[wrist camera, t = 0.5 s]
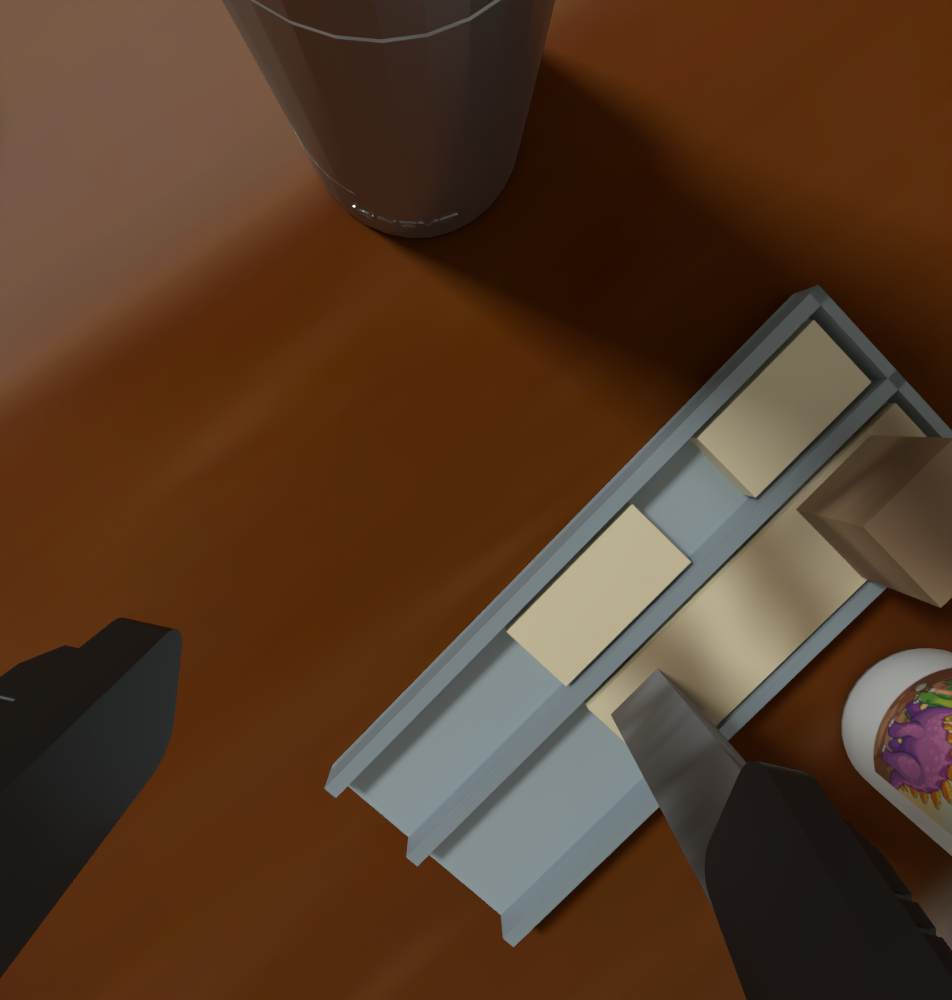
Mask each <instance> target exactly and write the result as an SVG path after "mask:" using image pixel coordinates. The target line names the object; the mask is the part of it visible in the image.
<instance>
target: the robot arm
mask: <svg viewBox="0 0 952 1000" xmlns="http://www.w3.org/2000/svg"><path fill="white" fill-rule="evenodd" d="M222 1H223V3H224V4H225V6H226V8H227V10H228V12H229V13H230V15H231V17H232V19H233V21H234V22H235V24H236V26H237V28H238V30H239V32H240V33H241V35H242V37H243V39H244V41H245V42H246V44H247V46H248V48H249V50H250V51H251V53H252V55H253V57H254V59H255V60H256V62H257V64H258V66H259V68H260V70H261V71H262V73H263V75H264V77H265V79H266V80H267V82H268V84H269V86H270V88H271V89H272V91H273V93H274V95H275V97H276V98H277V100H278V102H279V104H280V106H281V108H282V109H283V111H284V113H285V115H286V117H287V118H288V120H289V122H290V124H291V126H292V127H293V129H294V131H295V133H296V135H297V137H298V139H299V141H300V142H301V144H302V146H303V148H304V150H305V151H306V153H307V155H308V157H309V159H310V160H311V162H312V164H313V166H314V168H315V169H316V171H317V173H318V175H319V176H320V178H321V180H322V181H323V183H324V184H325V186H326V188H327V189H328V191H329V193H330V194H331V195H332V196H333V198H334V199H335V200H336V201H337V202H338V203H339V204H340V205H341V206H342V207H343V208H344V209H345V210H346V211H347V212H348V213H349V214H351V215H352V216H354V217H355V218H356V219H358V220H359V221H361V222H362V223H364V224H365V225H367V226H369V227H372V228H374V229H376V230H379V231H381V232H383V233H386V234H390V235H395V236H400V237H406V238H427V237H434V236H438V235H442V234H446V233H450V232H453V231H455V230H457V229H459V228H461V227H463V226H465V225H466V224H468V223H470V222H472V221H473V220H475V219H476V218H477V217H478V216H479V215H481V214H482V213H483V212H484V211H485V210H487V209H488V208H489V207H490V206H491V205H492V203H493V202H494V201H495V199H496V198H497V197H498V196H499V194H500V193H501V192H502V191H503V189H504V187H505V185H506V183H507V181H508V179H509V177H510V175H511V173H512V171H513V169H514V166H515V162H516V158H517V154H518V150H519V147H520V143H521V139H522V134H523V130H524V126H525V122H526V119H527V116H528V112H529V108H530V103H531V99H532V95H533V91H534V87H535V82H536V78H537V74H538V70H539V66H540V61H541V57H542V53H543V49H544V45H545V40H546V36H547V32H548V28H549V24H550V19H551V15H552V11H553V7H554V3H555V0H222ZM181 649H182V637H181V634H180V632H179V631H178V630H176V629H172V628H167V627H163V626H158V625H154V624H149V623H145V622H140V621H136V620H131V619H127V618H118V619H116V620H114V621H113V622H111V623H110V624H109V625H108V626H106V627H105V628H104V629H103V630H101V631H100V632H99V633H98V634H96V635H95V636H94V637H93V638H91V639H90V640H89V641H88V642H86V643H85V644H84V645H83V646H81V647H80V648H75V647H70V646H66V645H64V646H62V647H59V648H57V649H54V650H52V651H49V652H47V653H44V654H42V655H39V656H37V657H34V658H32V659H29V660H27V661H24V662H22V663H19V664H18V665H16V666H15V667H14V668H12V669H11V670H10V671H8V672H7V673H5V674H4V675H3V676H1V677H0V978H1V977H2V975H3V974H4V973H5V971H6V970H7V969H8V967H9V966H10V965H11V963H12V962H13V961H14V959H15V958H16V957H17V955H18V954H19V952H20V951H21V950H22V948H23V947H24V946H25V944H26V943H27V942H28V940H29V939H30V938H31V936H32V935H33V934H34V932H35V931H36V930H37V928H38V927H39V926H40V924H41V923H42V922H43V920H44V919H45V918H46V916H47V915H48V914H49V912H50V911H51V910H52V908H53V907H54V906H55V904H56V903H57V902H58V900H59V899H60V898H61V896H62V895H63V894H64V892H65V891H66V890H67V888H68V887H69V886H70V884H71V883H72V882H73V880H74V879H75V878H76V876H77V875H78V874H79V872H80V871H81V870H82V868H83V867H84V866H85V864H86V863H87V862H88V860H89V859H90V858H91V856H92V855H93V854H94V852H95V851H96V850H97V848H98V847H99V846H100V844H101V843H102V842H103V840H104V839H105V838H106V836H107V835H108V834H109V832H110V831H111V829H112V828H113V827H114V825H115V824H116V823H117V821H118V820H119V819H120V817H121V816H122V815H123V813H124V812H125V811H126V809H127V808H128V807H129V805H130V804H131V803H132V801H133V800H134V799H135V797H136V796H137V795H138V793H139V792H140V791H141V789H142V788H143V787H144V785H145V784H146V783H147V781H148V780H149V779H150V777H151V776H152V775H153V773H154V772H155V770H156V769H157V767H158V765H159V763H160V761H161V760H162V757H163V755H164V753H165V751H166V748H167V746H168V743H169V740H170V737H171V733H172V729H173V723H174V715H175V705H176V696H177V687H178V677H179V668H180V659H181ZM705 881H706V887H707V892H708V895H709V898H710V901H711V903H712V906H713V909H714V912H715V914H716V917H717V920H718V922H719V925H720V928H721V931H722V933H723V936H724V939H725V942H726V944H727V947H728V950H729V953H730V955H731V958H732V961H733V963H734V966H735V969H736V972H737V974H738V977H739V980H740V983H741V985H742V988H743V991H744V994H745V996H746V999H747V1000H952V950H951V949H950V948H949V946H948V945H947V943H946V942H945V941H944V939H943V938H941V937H937V936H936V932H935V931H936V928H935V927H934V925H933V924H932V923H931V921H930V920H929V918H928V917H927V916H926V914H925V913H924V911H923V910H922V909H921V907H920V906H919V904H918V903H916V902H912V900H911V893H910V892H909V890H908V889H907V888H906V886H905V885H904V883H903V882H902V881H901V879H900V878H899V876H898V875H897V874H896V872H895V871H894V869H893V868H892V867H891V865H890V864H889V862H888V861H887V860H886V858H885V857H884V856H883V855H882V854H881V853H880V852H879V851H878V850H877V849H876V848H875V847H874V846H873V845H872V844H871V843H870V842H869V841H868V840H866V839H865V838H864V837H863V836H862V835H861V834H860V833H859V832H858V831H857V830H856V829H855V828H854V827H853V826H852V825H851V824H850V823H848V822H847V821H846V820H844V819H843V818H842V817H841V815H840V814H839V812H838V811H837V810H836V808H835V807H834V805H833V804H832V802H831V801H830V799H829V798H828V796H827V795H826V794H825V792H824V791H823V789H822V788H821V786H820V785H819V783H818V782H817V781H816V779H815V778H814V777H813V776H812V775H810V774H809V773H807V772H803V771H799V770H794V769H790V768H786V767H781V766H777V765H772V764H768V763H763V762H759V761H750V762H748V763H746V764H745V765H744V766H743V768H742V769H741V771H740V773H739V775H738V777H737V779H736V781H735V784H734V786H733V788H732V790H731V793H730V795H729V797H728V800H727V802H726V804H725V806H724V809H723V811H722V813H721V815H720V818H719V820H718V822H717V824H716V827H715V829H714V831H713V834H712V836H711V838H710V840H709V843H708V846H707V850H706V856H705Z"/></svg>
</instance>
